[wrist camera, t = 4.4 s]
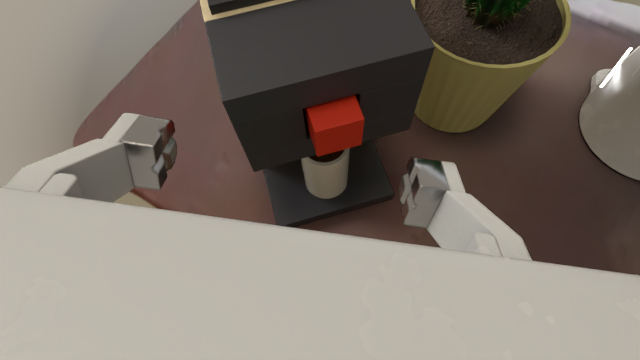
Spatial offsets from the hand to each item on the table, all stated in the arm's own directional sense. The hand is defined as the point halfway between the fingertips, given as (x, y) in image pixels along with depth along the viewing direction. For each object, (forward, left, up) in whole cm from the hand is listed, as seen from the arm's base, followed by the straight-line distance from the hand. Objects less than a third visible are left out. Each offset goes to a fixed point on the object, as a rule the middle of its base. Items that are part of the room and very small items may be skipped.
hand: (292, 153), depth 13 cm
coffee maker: (-4, -16, -32) cm, 36 cm away
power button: (-4, -9, -14) cm, 17 cm away
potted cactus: (-23, -20, -32) cm, 44 cm away
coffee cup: (-4, -12, -30) cm, 33 cm away
